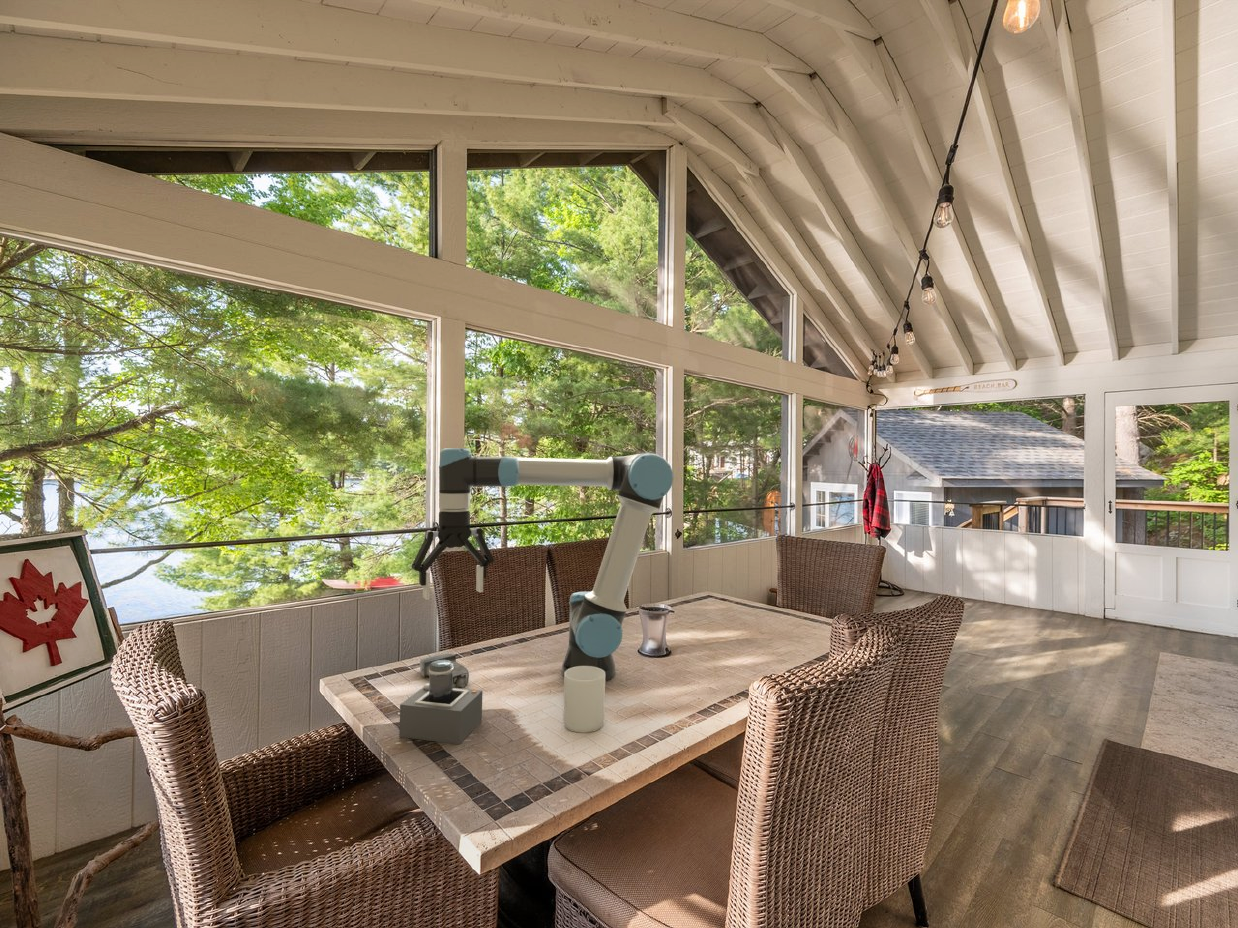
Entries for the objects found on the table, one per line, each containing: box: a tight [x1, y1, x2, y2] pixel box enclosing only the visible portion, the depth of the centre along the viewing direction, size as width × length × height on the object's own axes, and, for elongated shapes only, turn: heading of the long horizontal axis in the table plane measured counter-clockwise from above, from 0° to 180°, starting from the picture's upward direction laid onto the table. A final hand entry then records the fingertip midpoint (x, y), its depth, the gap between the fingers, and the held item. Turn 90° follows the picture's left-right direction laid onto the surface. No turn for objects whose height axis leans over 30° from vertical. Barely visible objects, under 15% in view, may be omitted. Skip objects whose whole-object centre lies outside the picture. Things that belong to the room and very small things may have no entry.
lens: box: [428, 660, 454, 704], centre depth 125 cm, size 5×5×10 cm
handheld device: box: [419, 653, 470, 688], centre depth 154 cm, size 10×20×5 cm, turn 43°
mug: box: [562, 666, 606, 734], centre depth 130 cm, size 10×12×12 cm
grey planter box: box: [398, 682, 483, 745], centre depth 126 cm, size 14×11×8 cm
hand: (453, 594), depth 141 cm, fingers open, 13 cm apart
